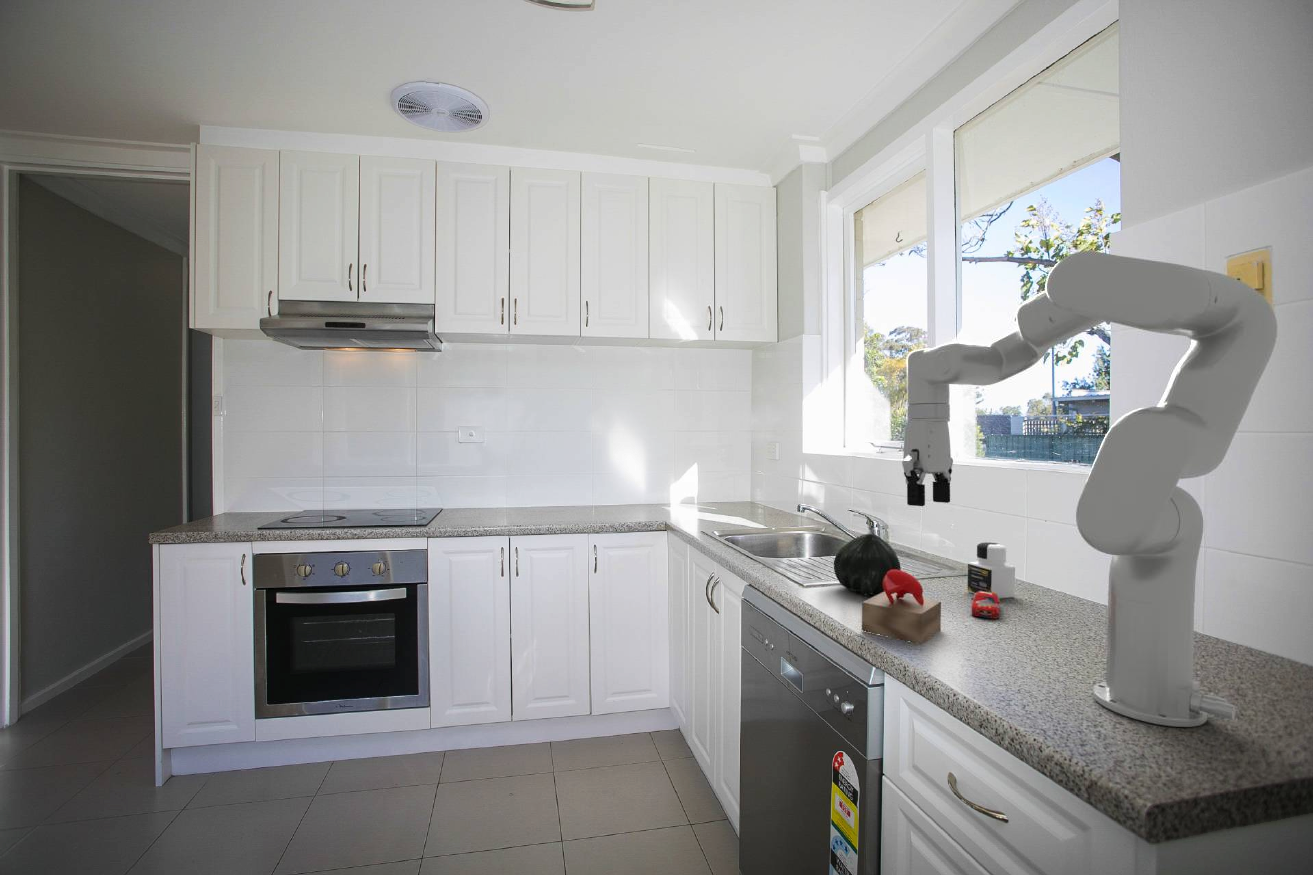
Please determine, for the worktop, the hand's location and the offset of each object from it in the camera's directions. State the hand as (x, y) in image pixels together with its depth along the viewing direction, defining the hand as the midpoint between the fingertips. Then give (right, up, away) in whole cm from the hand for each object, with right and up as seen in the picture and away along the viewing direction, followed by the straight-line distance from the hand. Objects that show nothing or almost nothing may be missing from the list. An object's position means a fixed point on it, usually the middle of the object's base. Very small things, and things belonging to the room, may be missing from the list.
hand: (929, 503), depth 122 cm
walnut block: (-5, -25, +1) cm, 25 cm away
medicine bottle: (+26, -24, +28) cm, 45 cm away
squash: (-2, -24, +29) cm, 38 cm away
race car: (+18, -25, +14) cm, 34 cm away
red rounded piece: (-5, -19, 0) cm, 20 cm away
